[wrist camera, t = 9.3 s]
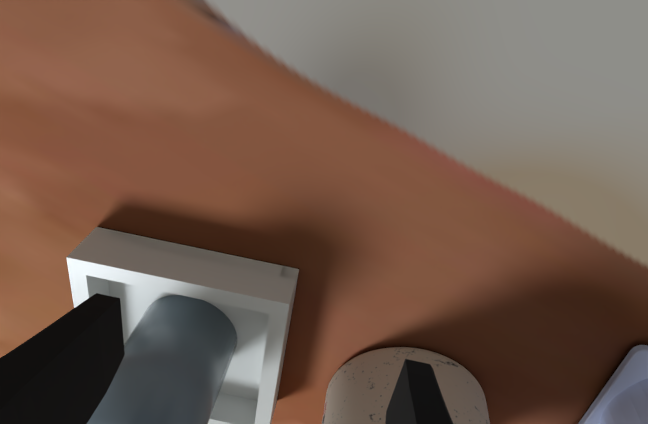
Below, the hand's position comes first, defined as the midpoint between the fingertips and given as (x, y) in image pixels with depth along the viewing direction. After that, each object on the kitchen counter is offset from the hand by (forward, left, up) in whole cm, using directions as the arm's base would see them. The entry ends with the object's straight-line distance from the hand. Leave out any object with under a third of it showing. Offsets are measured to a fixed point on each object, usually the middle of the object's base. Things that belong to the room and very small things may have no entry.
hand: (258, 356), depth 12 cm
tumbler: (+5, +10, -9) cm, 14 cm away
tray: (+5, +10, -10) cm, 15 cm away
